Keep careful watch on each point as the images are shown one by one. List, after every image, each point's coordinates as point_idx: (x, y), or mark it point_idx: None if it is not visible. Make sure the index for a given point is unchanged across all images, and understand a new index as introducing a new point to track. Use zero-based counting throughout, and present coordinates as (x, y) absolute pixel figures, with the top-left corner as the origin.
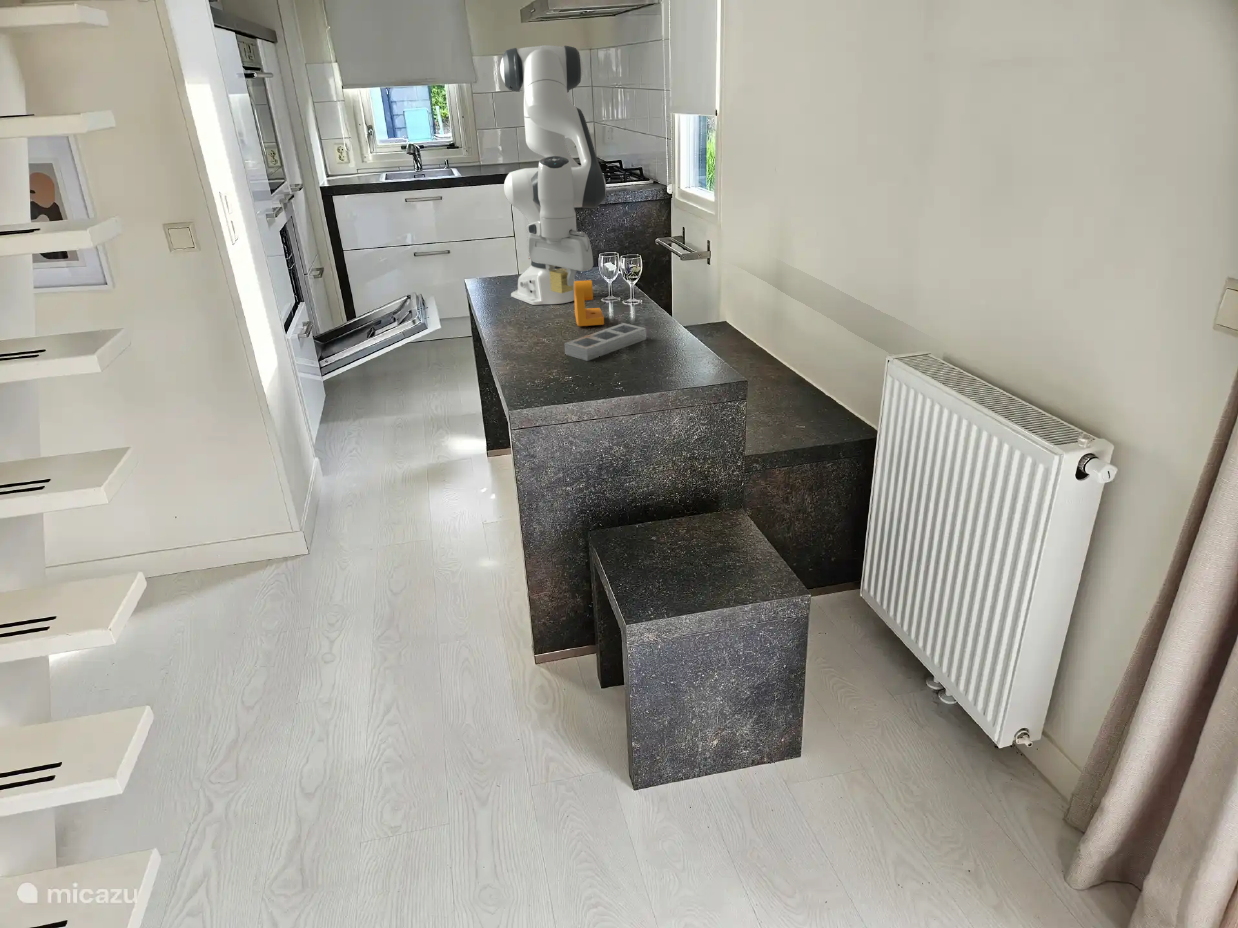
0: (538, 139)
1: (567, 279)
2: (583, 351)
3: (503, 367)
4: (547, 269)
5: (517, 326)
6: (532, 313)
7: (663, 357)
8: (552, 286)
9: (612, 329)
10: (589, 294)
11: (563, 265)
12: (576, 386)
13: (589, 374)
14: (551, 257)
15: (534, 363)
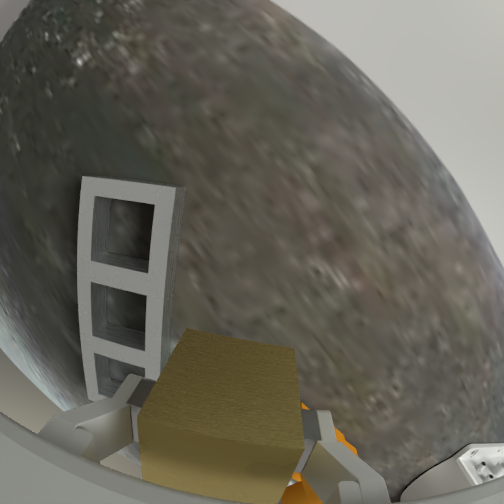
0: None
1: (120, 399)
2: (100, 177)
3: (283, 16)
4: (363, 473)
5: (463, 335)
6: (460, 416)
7: (8, 287)
8: (278, 364)
9: (145, 374)
10: (291, 492)
11: (64, 468)
12: (50, 40)
13: (53, 104)
14: None
15: (222, 76)
